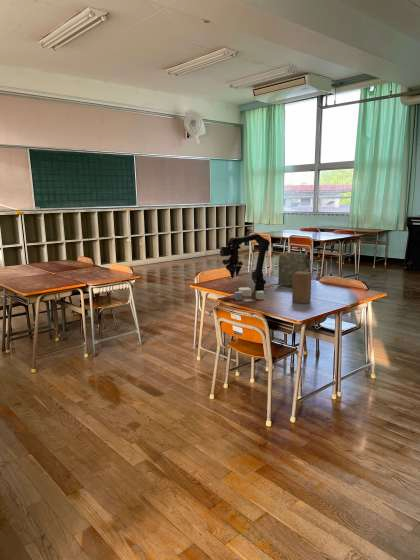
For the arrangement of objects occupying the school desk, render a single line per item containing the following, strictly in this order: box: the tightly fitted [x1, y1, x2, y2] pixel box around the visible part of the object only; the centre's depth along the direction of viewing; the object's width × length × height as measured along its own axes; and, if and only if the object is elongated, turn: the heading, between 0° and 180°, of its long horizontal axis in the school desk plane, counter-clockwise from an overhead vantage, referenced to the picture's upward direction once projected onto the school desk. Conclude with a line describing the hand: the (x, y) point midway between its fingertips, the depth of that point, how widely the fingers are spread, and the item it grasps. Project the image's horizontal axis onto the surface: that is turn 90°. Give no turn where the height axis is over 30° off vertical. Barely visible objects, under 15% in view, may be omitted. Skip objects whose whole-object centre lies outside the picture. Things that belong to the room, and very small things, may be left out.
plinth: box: [238, 286, 253, 297], centre depth 300 cm, size 8×8×5 cm
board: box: [242, 298, 257, 303], centre depth 282 cm, size 8×6×1 cm
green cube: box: [255, 291, 265, 300], centre depth 289 cm, size 5×5×5 cm
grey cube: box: [233, 290, 244, 301], centre depth 288 cm, size 5×5×5 cm
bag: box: [277, 251, 311, 288], centre depth 327 cm, size 22×16×27 cm
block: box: [291, 271, 312, 305], centre depth 277 cm, size 10×10×20 cm
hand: (234, 276), depth 298 cm, fingers open, 9 cm apart
